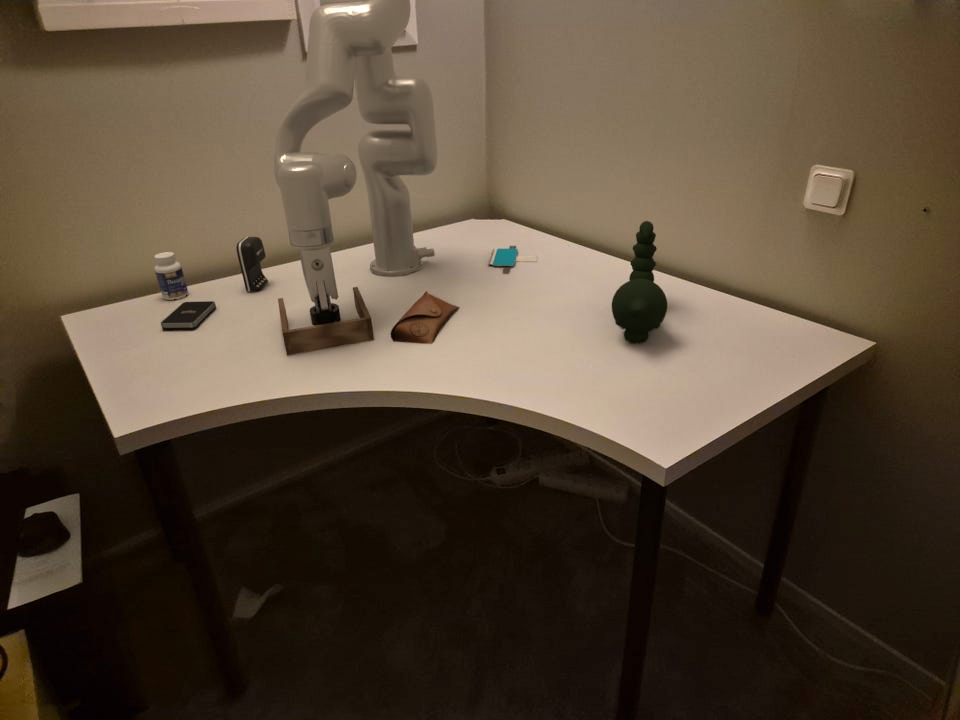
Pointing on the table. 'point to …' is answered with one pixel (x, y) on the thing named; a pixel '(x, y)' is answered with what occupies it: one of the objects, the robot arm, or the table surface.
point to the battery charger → (251, 262)
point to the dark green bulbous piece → (640, 292)
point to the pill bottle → (170, 276)
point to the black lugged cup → (335, 312)
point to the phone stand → (508, 258)
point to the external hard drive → (188, 316)
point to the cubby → (328, 330)
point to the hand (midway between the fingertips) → (327, 329)
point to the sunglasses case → (423, 320)
